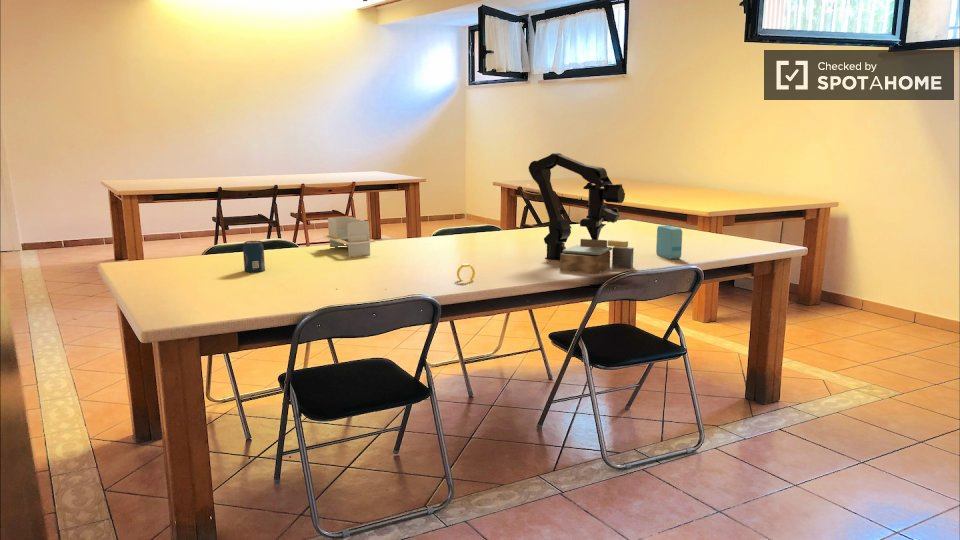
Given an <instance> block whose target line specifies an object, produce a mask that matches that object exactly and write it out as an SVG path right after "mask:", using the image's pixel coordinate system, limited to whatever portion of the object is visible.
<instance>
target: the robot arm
mask: <svg viewBox="0 0 960 540" xmlns="http://www.w3.org/2000/svg"><path fill="white" fill-rule="evenodd" d="M557 166H559V167H561V168H563V169H566V170H568V171H571V172H572V173H574V174H578V175H579V176H581V177H582V178H583V179H584V180H585V181H586V184H585V186H583V190H588V202H587V203H588V204H586V208H587V209H588V211H587V213H588V214H587V215H586V217H583V218H581V219H580V220H579V227H581V228H582V227H585V228H586V230H587V231H588V233H589V236H590V238H591V239H595V240H599V237H600V234H601V231H602V229H603V228H604V227H606V225H607V224H606V223H603V222H607V223H613V224H614V223H617V221H618V219H619V218H620V211H619V209H618V208H616V207H614V208H612V209H609V208H607V205H606V203H610V204H611V203H613V204H622V203H623V202H624V201H625V198H626V193H625V188H623V183H618V184H613V182H612V181H611V179H610V178H609V175H608V173H607V170H606V168H604V167H601V166H597V165H589V164H585V163H583V162H581V161H578V160H576V159H573V158H571V157H568V156H565V155H563V154H562V153H560V152H554V153H553V152H552V153H551V154H549V155H548V156H545V157H543V158H540V159H538V160H532V161H531V162H530V163H529V165H528V172H529V175H530V176H531V178H532V180H534V181H535V183H536V184H537V185H538V189H539V191H540V194H541V197H542V200H543V203H544V206H545V210H546V213H547V215H548V219H549V221H548V234H547V235H545V236H544V238H543V241H544V244H545V245H546V256H545V257H544V259H545V260H552V261H553V260H554V261H560V254H562V253H564V252H563V250H564V249H567V247H566V246H565V243H567V241H568V239H569V237H570V236H571V234H572V230H571V229H572V226H571V225H570V220H569V218H564V217H563V215H562V214H561V213H562V212H561V210H560V208H559V204H558V201H557V198H556V195H555V194H556V193H555V192H554V189H553V185H552V182H551V177H552V176H551V175H552V171H551V170H552V169H554V168H555V167H557ZM605 202H606V203H605Z"/></svg>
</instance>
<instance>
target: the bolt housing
mask: <svg viewBox="0 0 960 540" xmlns="http://www.w3.org/2000/svg"><path fill="white" fill-rule="evenodd" d="M634 250H635V247H614V246H612V250H611V251H612V252H611V253H612V254H611V255H612V256H611V259H612V260H611V267H612V268H619V269H621V268H622V269H632V268H633V267H634Z"/></svg>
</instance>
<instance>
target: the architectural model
mask: <svg viewBox="0 0 960 540" xmlns="http://www.w3.org/2000/svg"><path fill="white" fill-rule="evenodd" d="M327 224H328V225H327V226H328V228H327V229H328V234H325V235H323V238H324V239H327V240H329V248H330V247H338V246H348V247H347V248H348V250H347V251H348V257H349V256H357V257H363V256H362V255H367V256H371V244H372V243H375V242H376V240H375V239H373V238H370V237H371V236H370V234H371V233H370V221H367V220H363V219H360V218H357V217H352V216H338V217H337V216H336V217H334V216H333V217H327ZM344 244H346V245H344Z"/></svg>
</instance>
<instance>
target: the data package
mask: <svg viewBox="0 0 960 540" xmlns="http://www.w3.org/2000/svg"><path fill="white" fill-rule="evenodd" d="M655 248H656V249H655V250H656V255H657V256H660V257H662V258H665V259H668V260H677V259H679V260H680V259H681V257H682V251H683V250H682V248H683V230H682V228H680V227H676V226H672V225H659V226H657V228H656V247H655Z"/></svg>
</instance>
